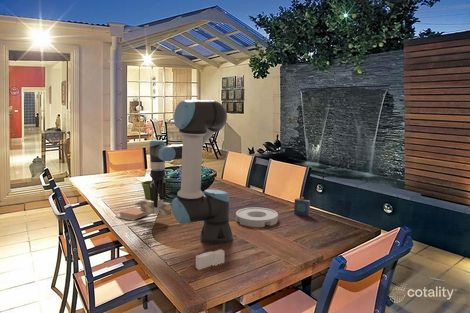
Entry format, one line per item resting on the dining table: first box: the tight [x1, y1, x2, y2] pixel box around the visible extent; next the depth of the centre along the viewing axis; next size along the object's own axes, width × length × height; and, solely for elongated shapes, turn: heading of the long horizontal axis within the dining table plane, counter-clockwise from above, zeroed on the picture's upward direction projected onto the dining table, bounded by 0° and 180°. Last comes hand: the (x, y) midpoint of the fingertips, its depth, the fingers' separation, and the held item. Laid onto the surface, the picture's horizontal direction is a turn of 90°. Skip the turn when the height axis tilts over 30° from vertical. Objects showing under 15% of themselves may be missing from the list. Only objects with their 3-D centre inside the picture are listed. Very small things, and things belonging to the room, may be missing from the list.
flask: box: [293, 196, 311, 217], centre depth 203 cm, size 9×3×11 cm, turn 61°
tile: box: [119, 207, 150, 220], centre depth 198 cm, size 2×10×12 cm
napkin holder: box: [195, 248, 225, 271], centre depth 139 cm, size 15×11×6 cm
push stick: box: [139, 199, 172, 217], centre depth 191 cm, size 18×3×6 cm, turn 66°
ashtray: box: [235, 206, 279, 228], centre depth 194 cm, size 23×23×4 cm
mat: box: [115, 213, 151, 221], centre depth 201 cm, size 13×16×1 cm
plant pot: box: [140, 180, 152, 200], centre depth 233 cm, size 12×12×11 cm
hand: (159, 212), depth 190 cm, fingers closed on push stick, 3 cm apart
